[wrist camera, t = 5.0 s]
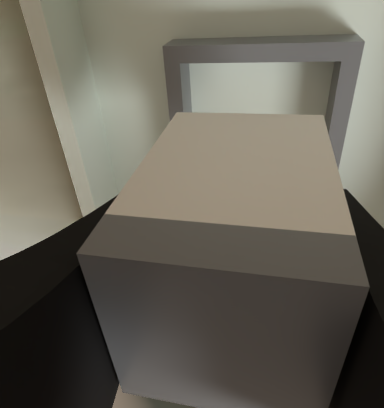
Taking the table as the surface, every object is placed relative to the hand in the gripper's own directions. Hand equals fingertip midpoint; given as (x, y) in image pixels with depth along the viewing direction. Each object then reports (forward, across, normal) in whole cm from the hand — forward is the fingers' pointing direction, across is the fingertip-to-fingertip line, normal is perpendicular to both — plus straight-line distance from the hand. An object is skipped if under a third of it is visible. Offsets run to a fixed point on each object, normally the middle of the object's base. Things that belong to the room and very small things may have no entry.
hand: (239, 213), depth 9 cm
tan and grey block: (+2, 0, 0) cm, 2 cm away
